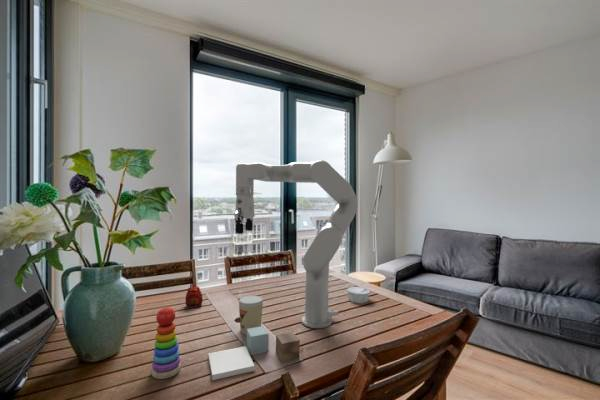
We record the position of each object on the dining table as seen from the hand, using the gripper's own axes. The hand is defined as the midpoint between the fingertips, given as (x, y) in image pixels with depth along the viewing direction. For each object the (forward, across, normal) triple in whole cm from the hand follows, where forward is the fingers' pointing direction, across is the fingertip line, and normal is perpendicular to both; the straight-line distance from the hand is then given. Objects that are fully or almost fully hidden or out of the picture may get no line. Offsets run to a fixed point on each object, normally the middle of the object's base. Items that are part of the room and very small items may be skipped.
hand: (244, 231), depth 124 cm
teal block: (+37, -23, -16) cm, 46 cm away
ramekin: (+37, +33, -48) cm, 69 cm away
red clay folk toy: (+37, +4, +27) cm, 46 cm away
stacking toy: (+37, -42, +5) cm, 56 cm away
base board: (+36, -34, -11) cm, 51 cm away
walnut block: (+37, -25, -27) cm, 52 cm away
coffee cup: (+37, -12, -8) cm, 39 cm away
